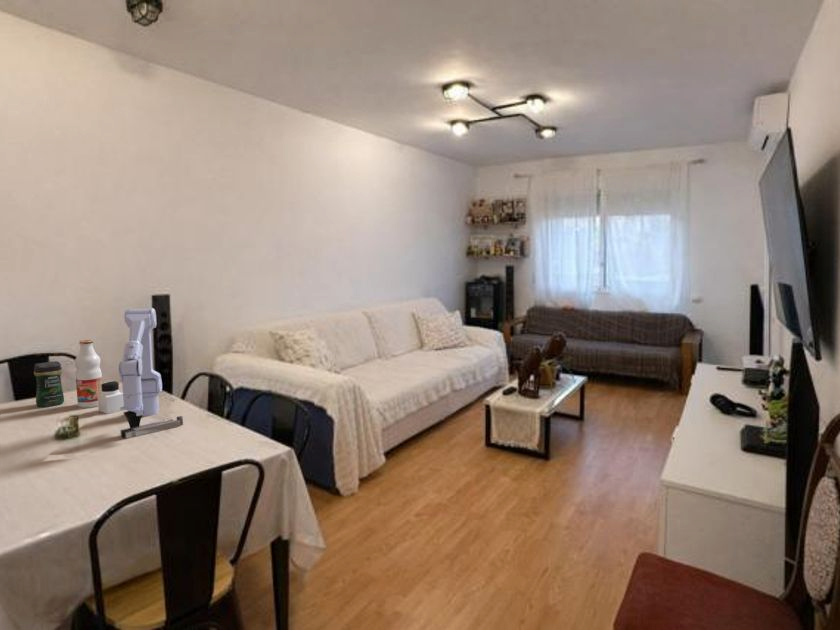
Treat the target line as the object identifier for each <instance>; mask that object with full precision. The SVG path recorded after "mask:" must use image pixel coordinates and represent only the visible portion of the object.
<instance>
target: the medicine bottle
mask: <svg viewBox="0 0 840 630" xmlns="http://www.w3.org/2000/svg"><path fill="white" fill-rule="evenodd" d="M119 385H120V384H119V382H118V381H114V380H113V381H112V380H111V381H105V382H103V384H102V385H101V387H102V394H98V406H97V408H98V411H99V412H101V413H104V414H106V415H109V414H112V413H116V412H120V411H122V410H120V407H123V406H124V402H123V392H121V391H120V386H119Z"/></svg>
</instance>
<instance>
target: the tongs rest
mask: <svg viewBox="0 0 840 630" xmlns="http://www.w3.org/2000/svg"><path fill="white" fill-rule="evenodd" d="M183 425H184V420H183V416H182V415H179V416H177V417H176V420H174V419H173V421H170V422H165V423H161V424H156V425H152V426H147V427H143V428H138V429H134V430H129V431H125V432H124V438H123V439H126V440H127V439H131V438H134V437H140V436H144V435H148V434H153V433H156V432H161V431H166V430H169V429H174V428H179V427H181V426H183Z"/></svg>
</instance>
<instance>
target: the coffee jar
mask: <svg viewBox="0 0 840 630" xmlns="http://www.w3.org/2000/svg"><path fill="white" fill-rule="evenodd" d="M62 372H63V368H62V363H61V362H59V361H55V360H54V361H46V362H40V363H35V364H34V366H33V375H34V377H35V378H36V379H35V381H36V392H35V393H36V395H35V405H36V406H37V407H39V408H45V407H46V408H47V407H48V408H49V407H54V406H57V405H62V404H63V403H65V396H64V392H63V386H62V381H61V377H62V376H61V375H62Z"/></svg>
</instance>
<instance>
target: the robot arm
mask: <svg viewBox="0 0 840 630" xmlns="http://www.w3.org/2000/svg"><path fill="white" fill-rule="evenodd" d="M123 317H124V322H125V325H126V326H127V327H128V328H129V336H128V337H129V339H128V342H127V343H126V344H125V345H124V350H123V355H122V361H120V362H119V364H118V374H119V377H120V382H121V383H122V385H121V387H122V393H123V402H124V406H123V407H120V410H121V411H123V415H124V416H125V418H126V420H127V423H128V425H129V428H132V427H137V426H141V420H142V418H143V417H150V416H156V415H157V414H159V413H160V405H159V404H160V403H159V394H160V393H161V392H162V390H163V382H162V381H163V380H162V375H161V373H160V372H158V371H156V370H155V369H154V368H153V349H152V330H154V329H155V328H157V312H156V309H155V308H154V307H150V308H126V309H125V310H124V316H123Z"/></svg>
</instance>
